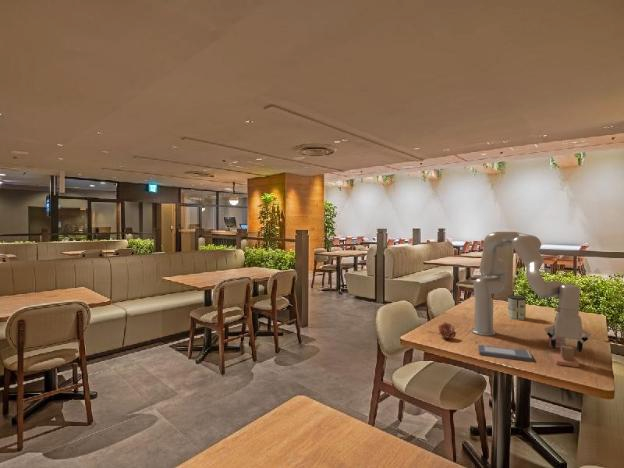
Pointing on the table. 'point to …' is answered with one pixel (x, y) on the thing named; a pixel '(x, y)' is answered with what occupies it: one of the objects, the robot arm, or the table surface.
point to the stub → (565, 357)
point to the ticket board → (505, 353)
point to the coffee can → (516, 307)
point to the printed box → (557, 340)
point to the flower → (447, 330)
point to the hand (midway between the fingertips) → (566, 349)
